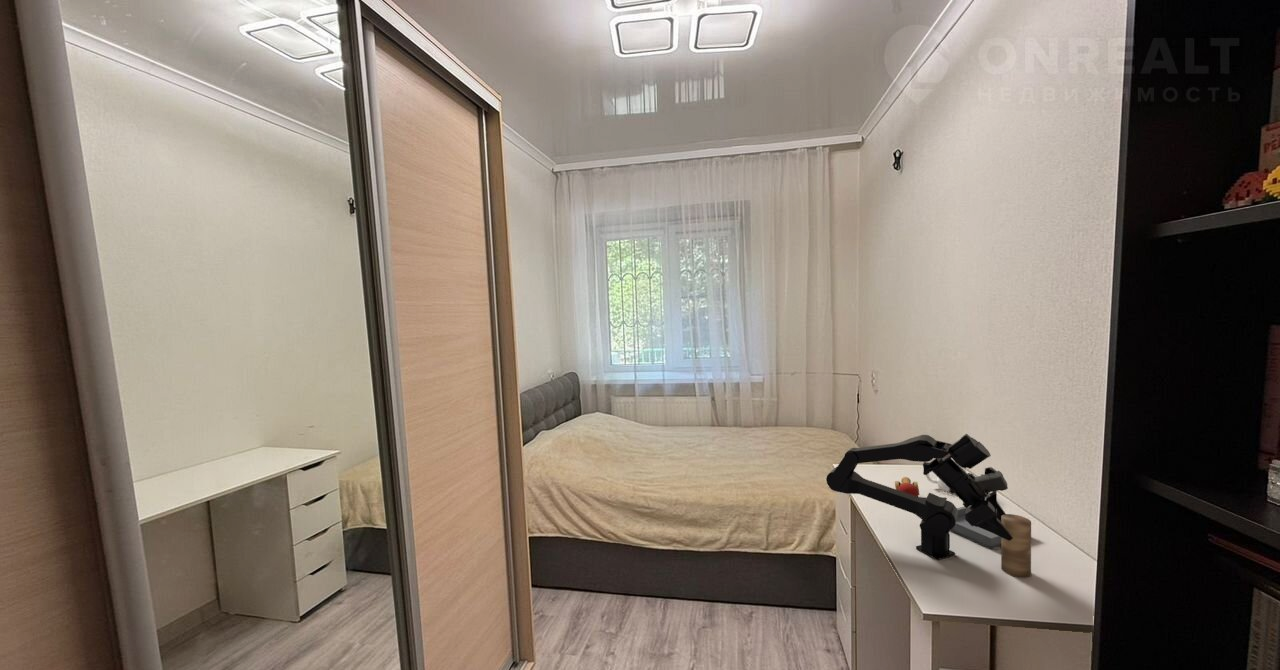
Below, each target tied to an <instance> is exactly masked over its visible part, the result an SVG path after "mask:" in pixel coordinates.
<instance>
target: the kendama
mask: <svg viewBox="0 0 1280 670" xmlns="http://www.w3.org/2000/svg"><path fill="white" fill-rule="evenodd" d="M900 481H901V482H900ZM911 482H912V480H911V478H909V477H908V476H903V477H902V478H901V480H895V481H894V487H895V488H894V489H896V490H899V491H902V492H905V493H908V494H911V495H914V496H917V497H919V496H920V495H921V494H920V490H919V484H918V481H913V482H912V483H911Z"/></svg>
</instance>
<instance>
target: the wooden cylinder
mask: <svg viewBox="0 0 1280 670" xmlns="http://www.w3.org/2000/svg"><path fill="white" fill-rule="evenodd" d="M1001 523H1002V525H1003V526H1004V527H1005V528H1006V530H1007V531H1008V532H1009V533H1010V535H1011V536H1012V537H1013V539H1012V540H1010V541H1008V540H1006V539H1004V538H1002V537H1001V546H1000V547H1001V550H1000V551H1001V552H1000V553H1001V554H1000V555H1001V559H1000V561H1001V563H1000V564H1001V565H1000V567H1001V571H1003V572H1004V573H1005V574H1006V575H1009V576H1012V577H1015V578H1019V579H1028V578H1030V577H1031V576H1032V521H1031V520H1030V519H1029V518H1026V517H1025V516H1022V515H1018V514H1014V513H1013V514H1012V513H1011V514H1010V513H1006V514H1004V515H1002V516H1001Z"/></svg>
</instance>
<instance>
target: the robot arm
mask: <svg viewBox="0 0 1280 670" xmlns="http://www.w3.org/2000/svg"><path fill="white" fill-rule="evenodd" d="M990 457H991V453H990V452H989V450H988V449H987V447H986V446H984V444H982V442H980V441H978V440H976V439H975V438H974V437H971V436H970V435H969V434H967V433H965V434H964V435H962V436H961V437H960V438H959V439H958V440H957V441H955V442H954V443H948V442H945V441H940V440H936V438H934V437H933V436H931V435H928V434H921V435H918V436H913V437H911V438H908V439H905V440H903V441H900V442H896V443H888V444H880V445H873V446H872V445H870V446H863V447H851V448H850V449H848V450H847V451H846V452H845V453H844V456H843V458H842V460H841V461H840V462H839V463H838V465H837V466H836V467H835V468H833V469H832V470H831V471H830V472H828V474H827V475H826V478H825V479H826V480H825V481H826V484H827V485H828V487H829V489H830V490H832V491H834V492H837V493H842V494H850V495H852V494H853V495H861V496H864V497H867V498H870V499H872V500H875V501H878V502H880V503H884V504H886V505H889V506H892V507H894V508H897V509H899V510H903V511H905V512H908V513H912V514H913V515H915V516H916V517H918V518H919V519H920V520H921V521H920V523H919V528H920V538H921V539H920V544H919V545H916V546H915V549H916V550H918V551H920V552H922V553H924V554H926V555H928V556H929V557H931V558H933V559H935V560H942V559H945V558H949V557H952V556H955V555H956V553H955V551H953V550H951V548H950V547H951V543H950V542H951V539H950V537H951V536H950V531H949V530H950V529H952V528H953V527H954V526H955V524H956V521H957V517H958V510H957V508H958V507H956V505H955V504H954V503H953V502H951V501H950V500H947V499H948V498H947V497H942V496H938V495H935V493H932V492H928V493H927V496H926V497H924V496H923V497H921V496H920V497H919V496H918V497H917V496H914V495H911V494H908V493H905V492H902V491H899V490H896V488H894V487H889V486H886V485H883V484H881V483H879V482H875V481H872V480H869V479H866V478H864V477H863V476H861V475H860V474H859V473H858V472H856V471H855V470H856V468H857V466H858V465H859V464H864V463H875V462H883V461H884V462H885V461H886V462H887V461H894V460H905V461H909V462H923V464H922V467H923V475H924V476H926V475H927V474H928V473H929V474H930V473H931V472H932V473H933V474H934V475H935V476H936V478H937V477H938V478H939V479H940V480H941V481H942V482H943V483H945V484H946V486H948V487H949V492H948V493H950V494H951V495H953V494H955V496H956V497H957V498H959V499H960V500H961V501H962V506H963V507H964V506H965V507H966V508H967V507H969V506H970V505H971V506H970V507H969V508H967V509H966V512H965V520H966V521H967V522H968V523H969V524H970V525H971V526H975V527H980V528H982V529H984V530H987V531H989V532H991V533H993V534H996V535H998V536H1000V537H1002V538H1004V539H1006V540H1008V541H1010V540H1012V539H1013V537H1012V536H1011V535H1010V533H1009V532H1008V531H1007V530H1006V528H1005V527H1004V526H1003V525H1002V523H1001V522H1000V521H1001V516H1002V515H1004V514H1007V513H1006V512H1005V511H1004V509H1003V508H1002V506H1001V505H1000V503H999V502H998V498H997V495H998V494H997V491H1000V492H1002V491H1005V490H1008V489H1009V488H1008V483H1007V482H1008V481H1007V480H1006V479H1005V477H1004V474H1003V473H1002V471H1000V470H996V469H995V468H993V467H992V466H989V467H985V468H984V473H983V474H982V473H981V474H980V475H979V476H978V475H977V476H975V475H974V473H970V472H968V473H967V471H966V472H965V471H964V470H963V469H962V468H966V469H969V470H970V469H973V468H974V467H976V466H977V465H979V464H980V463H982V462H983V461H985V460H987V459H988V458H990ZM951 458H952V459H953V460H954V461H955V462H954V461H953V460H952V459H951ZM960 466H961V467H962V468H961V467H960ZM999 520H1000V521H999Z"/></svg>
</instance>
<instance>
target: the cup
mask: <svg viewBox="0 0 1280 670" xmlns="http://www.w3.org/2000/svg"><path fill="white" fill-rule="evenodd" d="M951 459H952V458H951ZM952 460H953V459H952ZM953 461H954V460H953ZM954 462H955V461H954ZM960 467H961V466H960ZM961 468H962V467H961ZM962 469H963V470H964V471H965V472H966V473H967V468H962ZM925 477H926V479H927V480H928V481H929V482H930V483H932V484H937V487H938V489H939V490H941V491H943V492H946V493H950V492H949V487H948V486H946V484H945V483H943V482H942V481H941V480H940V479H939V478H938V477H937V476H936V479H933V478H931V476H930V473H928V474H927V475H925Z"/></svg>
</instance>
